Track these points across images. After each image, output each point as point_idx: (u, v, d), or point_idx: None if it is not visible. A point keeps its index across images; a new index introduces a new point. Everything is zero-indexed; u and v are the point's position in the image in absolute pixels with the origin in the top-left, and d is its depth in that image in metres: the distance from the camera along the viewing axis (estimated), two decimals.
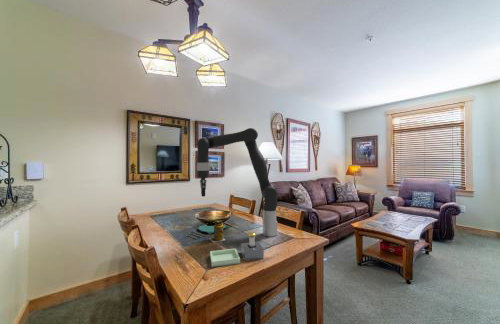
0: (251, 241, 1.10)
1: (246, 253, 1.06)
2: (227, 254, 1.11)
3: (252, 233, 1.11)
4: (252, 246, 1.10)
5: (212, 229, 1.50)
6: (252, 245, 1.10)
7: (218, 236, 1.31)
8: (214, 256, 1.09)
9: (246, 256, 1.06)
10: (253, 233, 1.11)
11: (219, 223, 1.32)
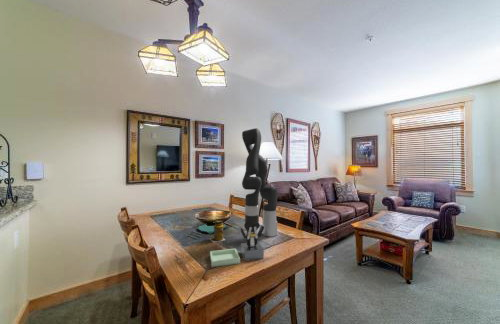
0: (251, 241, 1.10)
1: (246, 253, 1.06)
2: (227, 254, 1.11)
3: (252, 233, 1.11)
4: (252, 246, 1.10)
5: (212, 229, 1.51)
6: (252, 245, 1.10)
7: (218, 236, 1.31)
8: (214, 256, 1.09)
9: (246, 256, 1.06)
10: (253, 233, 1.11)
11: (219, 223, 1.32)
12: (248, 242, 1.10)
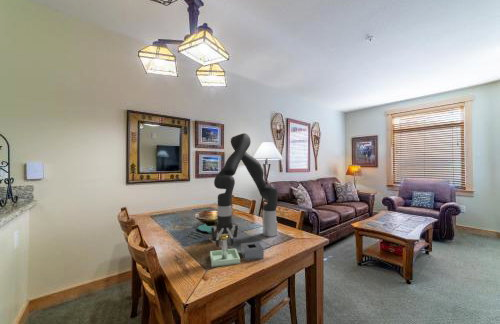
0: (223, 243, 1.05)
1: (246, 253, 1.06)
2: None
3: (225, 235, 1.06)
4: (224, 249, 1.05)
5: None
6: (224, 248, 1.05)
7: None
8: (214, 256, 1.09)
9: (246, 256, 1.06)
10: (226, 235, 1.06)
11: None
12: (217, 243, 1.05)
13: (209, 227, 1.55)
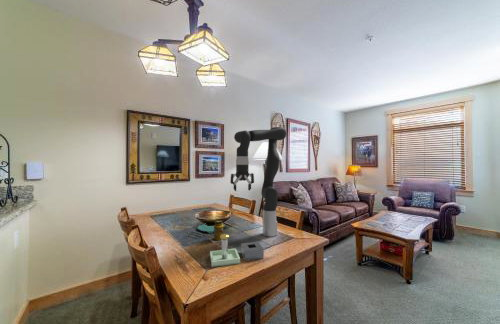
0: (223, 243, 1.05)
1: (246, 253, 1.06)
2: None
3: (225, 235, 1.06)
4: (224, 249, 1.05)
5: (211, 228, 1.52)
6: (224, 248, 1.05)
7: (218, 236, 1.31)
8: (214, 256, 1.09)
9: (246, 256, 1.06)
10: (226, 235, 1.06)
11: (219, 223, 1.32)
12: (235, 187, 1.23)
13: (209, 227, 1.55)
